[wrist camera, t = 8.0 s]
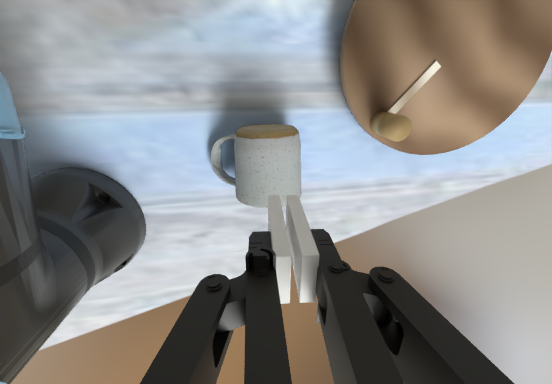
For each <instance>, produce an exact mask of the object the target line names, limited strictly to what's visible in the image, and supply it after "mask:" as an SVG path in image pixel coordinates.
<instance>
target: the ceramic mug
mask: <svg viewBox="0 0 552 384" xmlns="http://www.w3.org/2000/svg"><path fill="white" fill-rule="evenodd" d="M229 139H235V141H234V155H235V178H233V177H231V176H229V175H228V174H227V173H226V172H225V171H224V170H223V168H222V166H221V151H222V148H221V145H222V143H223V142H225V141H226V140H229ZM211 165H212V168H213V170H214V172H215V173H216V175H217V176H218V177H219V178H220V179H222V180H223V181H224V182H226V183H228V184H231V185H234V186H236V197H237V199H238V200H239V201H240V202H241V203H243V204H246V205H249V206H253V207H260V208H268V195H279V196H280V201H281V206H286V198H287V195H298V197H299V198H300V197H301V144H300V137H299V132H298V130H297V129H296V128H295V127H294V126H291V125H283V124H262V125H250V126H244V127H241V128H239V129H238V130H237V132H236V134H233V135H228V136H224V137H222V138H220V139H218V140H217V141H216V142H215V143H214V145H213V146H212V149H211Z"/></svg>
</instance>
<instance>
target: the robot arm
mask: <svg viewBox="0 0 552 384" xmlns="http://www.w3.org/2000/svg"><path fill="white" fill-rule="evenodd" d="M25 136H26V132H25V130H24V128H23V127H22V126H20V123H19V120H18V116H17V112H16V109H15V105H14V101H13V97H12V94H11V90H10V86H9V84H8V82H7V80H6V78H5V77H4V75H3V74H2V73H1V72H0V384H10V383H11V382H12V381H13V380H14V378H15V377H16V376H17V375H18V374H19V372H20V371H21V370H22V369H23V368H24V366H25V365H26V364H27V363H28V362H29V360H30V359H31V358H32V357H33V356H34V355H35V354H36V352H37V351H38V350H39V349H40V348H41V346H42V345H43V344H44V343H45V342H46V340H47V339H48V338H49V337H50V336H51V334H52V333H53V332H54V331H55V330H56V328H57V327H58V326H59V325H60V324H61V322H62V321H63V320H64V319H65V318H66V317H67V315H68V314H69V313H70V312H71V311H72V309H73V308H74V307H75V306H76V305H77V303H78V302H79V301H80V300H81V298H82V297H83V296H84V295H85V294H86V293H87V291H88V290H89V289H90V288H91V287H93V286H94V285H96V284H97V283H99V282H101V281H102V280H104V279H106V278H107V277H109V276H110V275H112V274H113V273H115V272H117V271H119V270H120V269H122V268H123V267H125V266H126V265H127V264H128V263H129V262H130V261H131V260H132V259H133V258H134V256H135V255H136V254H137V252H138V251H139V250H140V248H141V246H142V245H143V242H144V239H145V235H146V224H145V219H144V216H143V213H142V211H141V209H140V207H139V205H138V203H137V202H136V200H135V199H134V198H133V197H132V195H131V194H130V193H129V192H128V191H127V190H126V189H125V188H123V187H122V186H121V185H120V184H118V183H117V182H115V181H114V180H112V179H110V178H108V177H106V176H104V175H102V174H100V173H97V172H94V171H91V170H86V169H81V168H62V169H57V170H53V171H50V172H48V173H45V174H43V175H40V176H38V177H36V178H34V179H32V180H30V175H29V170H28V165H27V159H26V154H25V149H24V143H23V138H25ZM291 260H292V265H293V270H294V275H295V281H296V286H297V291H298V296H299V301H300V303H304V302H315V301H316V295H317V298H318V310H317V323H319V319H320V323H321V327H322V331H323V336H324V340H325V344H326V349H327V353H328V357H329V362H330V366H331V371H332V375H333V379H334V384H404V383H405V384H514V383H513V382H512V381H511V380H510V379H509V378H508V377H507V376H506V375H505V374H504V373H502V372H501V371H500V370H499V369H498V368H497V367H496V366H495V365H494V364H493V363H492V362H491V361H490V360H489V359H488V358H487V357H486V356H485V355H483V354H482V353H481V352H480V351H479V350H478V349H477V348H476V347H475V346H474V345H473V344H472V343H471V342H470V341H469V340H468V339H467V338H466V337H465V336H463V335H462V334H461V333H460V332H459V331H458V330H457V329H456V328H455V327H454V326H453V325H452V324H451V323H450V322H449V321H448V320H447V319H446V318H444V317H443V316H442V315H441V314H440V313H439V312H438V311H437V310H436V309H435V308H434V307H433V306H432V305H431V304H430V303H429V302H428V301H426V300H425V299H424V298H423V297H422V296H421V295H420V294H419V293H418V292H417V291H416V290H415V289H414V288H413V287H412V286H411V285H410V284H409V283H408V282H407V281H405V280H404V279H403V278H402V277H401V276H400V275H399V274H398V273H397V272H395V271H394V270H392V269H389V268H386V267H375V268H372V269H371V271H370V273H369V274H365V273H361V272H357V271H354V270H352V269H351V267H350V266H349V265H348V264H347V263H346V262H344V261H342V260H341V258H340V256H339V254H338V252H337V250H336V248H335V246H334V243H333V241H332V239H331V237H330V235H329V233H327V232H326V231H325V230H324V229H310V227H309V225H308V222H307V219H306V216H305V213H304V211H303V208H302V205H301V202H300V200H299V197H298V195H287V198H286V226H285V221H284V216H283V211H282V206H281V201H280V196H279V195H268V231H266V232H253V233H252V234H251V235H250V237H249V249H248V252H247V254H246V271H245V272H244V273H243V274H242V275H240V276H239V277H236V278H233V279H230V280H229V279H228V278H227V277H226V276H224V275H221V274H213V275H209V276H207V277H205V278H204V279H202V280H201V281H200V283H199V284H198V286H197V287H196V289H195V291H194V292H193V294H192V296H191V297H190V299H189V301H188V303H187V304H186V306H185V308H184V309H183V311H182V313H181V315H180V316H179V318H178V320H177V321H176V323H175V325H174V327H173V328H172V330H171V332H170V333H169V335H168V337H167V338H166V340H165V342H164V343H163V345H162V347H161V349H160V350H159V352H158V354H157V355H156V357H155V359H154V360H153V362H152V364H151V366H150V367H149V369H148V371H147V373H146V374H145V376H144V378H143V379H142V381H141V383H140V384H216V382H217V378H218V376H219V372H220V370H221V367H222V364H223V361H224V358H225V355H226V351H227V349H228V346H229V343H230V340H231V337H232V334H233V329H235V328H238V327H240V326H243V325H245V375H244V376H245V377H244V384H292V381H291V374H290V367H289V360H288V353H287V345H286V339H285V332H284V325H283V317H282V310H281V304H284V303H290V279H291ZM403 381H404V382H403Z"/></svg>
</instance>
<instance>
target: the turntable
mask: <svg viewBox="0 0 552 384" xmlns="http://www.w3.org/2000/svg"><path fill="white" fill-rule="evenodd" d="M551 51H552V0H354V3H353V5H352V8H351V10H350V12H349V15H348V18H347V21H346V24H345V28H344V31H343V36H342V41H341V47H340V61H339V64H340V79H341V85H342V90H343V93H344V97H345V100H346V103H347V105H348V107H349V109H350V111H351V113H352V115H353V116H354V118H355V119H356V121H357V122H358V124H359V125H360V126H361V127H362V128H363V129H364V130H365V131H366V132H367V133H368V134H369V135H370V136H372V137H373V138H374V139H376V140H378V141H379V142H381V143H383V144H385V145H387V146H389V147H391V148H394V149H396V150H398V151H402V152H406V153H410V154H419V155H430V154H439V153H445V152H449V151H452V150H456V149H459V148H461V147H464V146H466V145H469V144H471V143H473V142H474V141H476V140H478V139H480V138H482V137H483V136H485V135H486V134H488V133H489V132H491V131H492V130H494V129H495V128H496V127H497V126H499V125H500V124H501V123H502V122H504V121H505V120H506V119H507V118H508V117H509V116H510V115H511V114H512V113H513V112H514V111H515V110H516V109H517V107H518V106H519V105H520V104H521V103H522V102H523V100H524V99H525V98H526V97H527V95H528V94H529V92H530V91H531V90H532V88H533V87H534V85H535V84H536V82H537V80H538V78H539V77H540V75H541V73H542V71H543V69H544V67H545V65H546V63H547V61H548V59H549V56H550V53H551Z"/></svg>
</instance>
